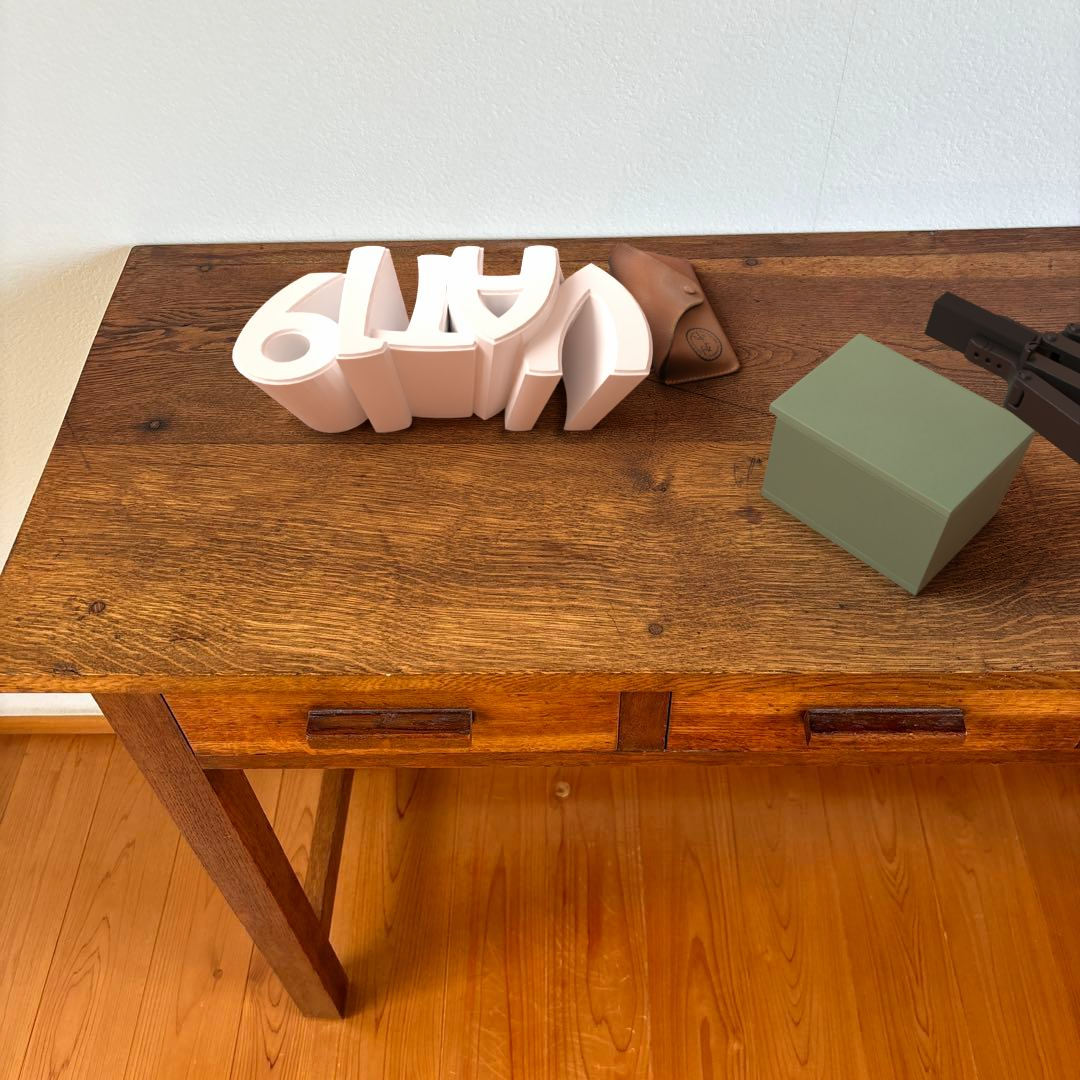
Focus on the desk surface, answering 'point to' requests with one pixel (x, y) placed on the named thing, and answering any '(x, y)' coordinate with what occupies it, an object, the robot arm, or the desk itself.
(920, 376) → the lid
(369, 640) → the desk surface
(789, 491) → the box
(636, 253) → the sunglasses case
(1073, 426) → the robot arm
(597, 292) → the wavy white extrusion
